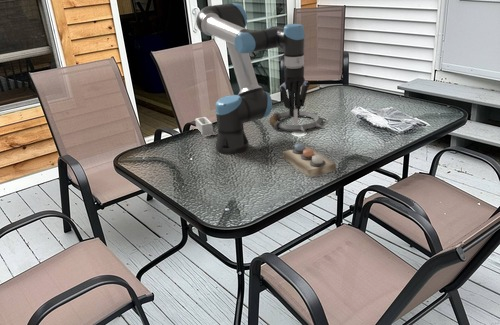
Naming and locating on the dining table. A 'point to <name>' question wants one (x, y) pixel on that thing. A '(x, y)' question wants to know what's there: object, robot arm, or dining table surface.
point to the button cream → (317, 159)
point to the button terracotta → (308, 153)
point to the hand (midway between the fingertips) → (294, 123)
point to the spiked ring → (279, 125)
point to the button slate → (299, 147)
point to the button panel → (309, 163)
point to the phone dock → (204, 126)
